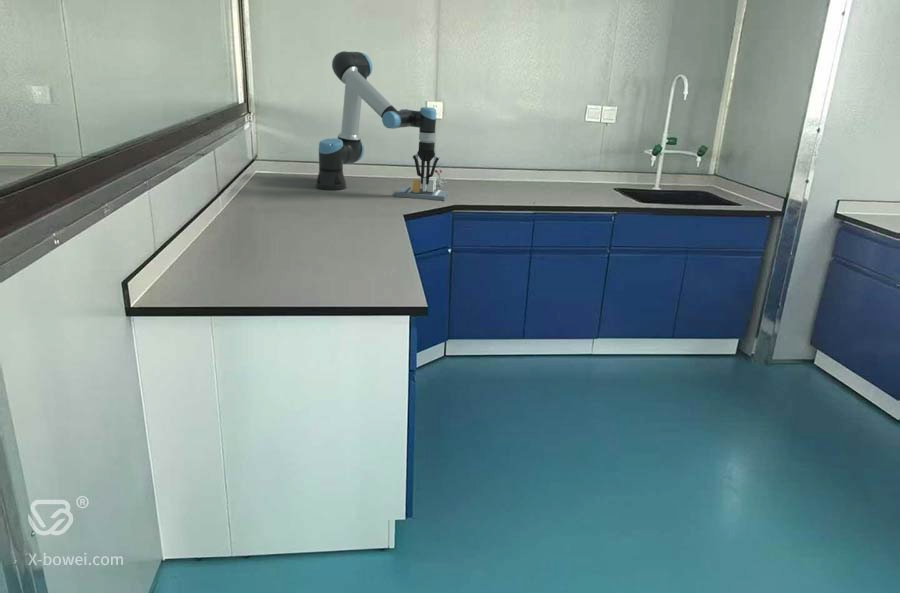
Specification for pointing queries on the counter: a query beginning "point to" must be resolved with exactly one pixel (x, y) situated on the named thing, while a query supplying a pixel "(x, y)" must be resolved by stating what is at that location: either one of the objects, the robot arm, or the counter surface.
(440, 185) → the molecular model
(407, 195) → the breaker panel
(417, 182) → the toggle
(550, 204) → the counter surface
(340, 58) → the robot arm
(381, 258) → the counter surface
